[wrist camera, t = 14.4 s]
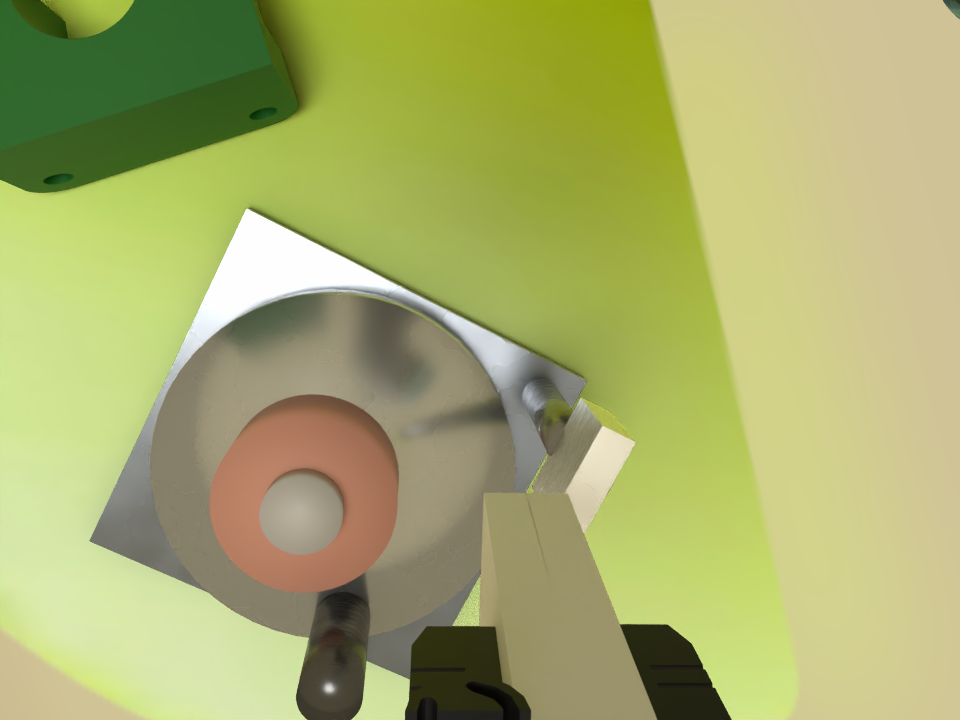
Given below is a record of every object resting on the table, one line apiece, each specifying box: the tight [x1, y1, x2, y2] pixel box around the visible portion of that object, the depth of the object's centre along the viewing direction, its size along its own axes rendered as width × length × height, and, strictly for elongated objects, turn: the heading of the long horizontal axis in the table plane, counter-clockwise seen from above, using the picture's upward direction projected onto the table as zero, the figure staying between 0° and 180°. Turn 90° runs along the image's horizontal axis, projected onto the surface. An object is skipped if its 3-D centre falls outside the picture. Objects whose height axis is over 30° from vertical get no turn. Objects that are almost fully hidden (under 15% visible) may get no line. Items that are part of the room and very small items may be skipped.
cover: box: [209, 394, 399, 593], centre depth 35 cm, size 7×7×4 cm
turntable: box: [150, 289, 515, 720], centre depth 35 cm, size 15×15×8 cm
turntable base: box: [90, 208, 636, 679], centre depth 34 cm, size 16×16×12 cm
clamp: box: [0, 0, 298, 193], centre depth 33 cm, size 12×6×9 cm, turn 101°
